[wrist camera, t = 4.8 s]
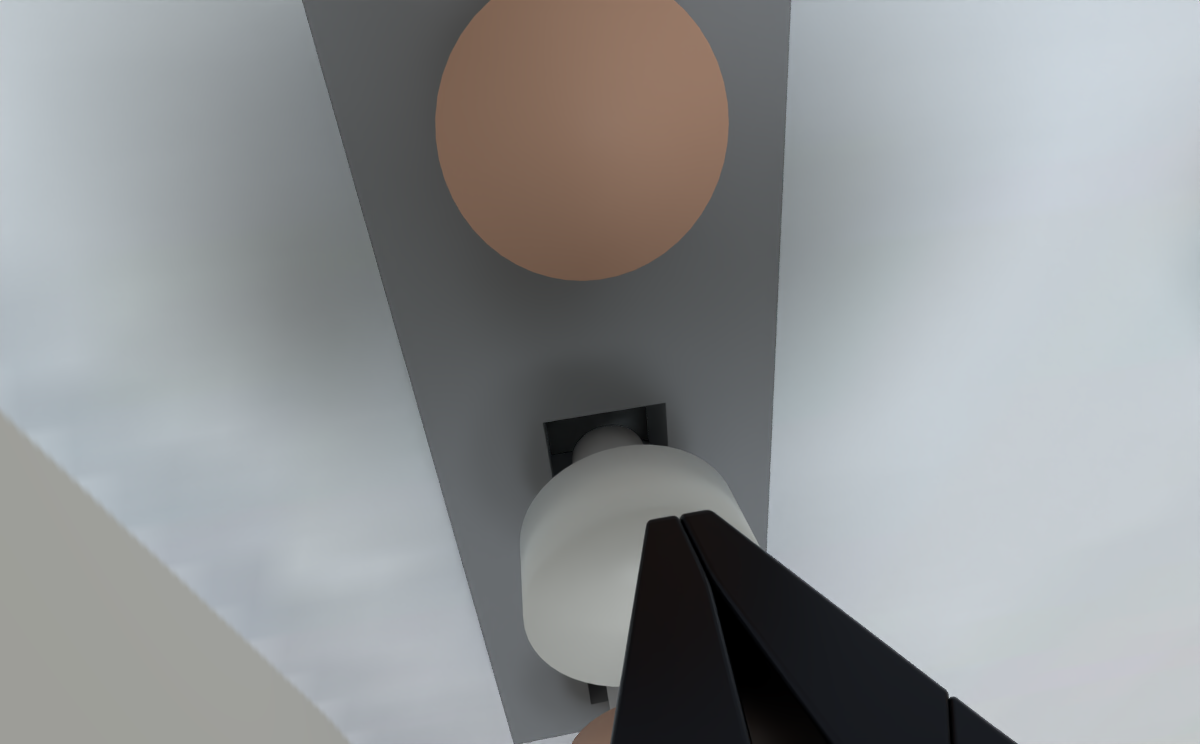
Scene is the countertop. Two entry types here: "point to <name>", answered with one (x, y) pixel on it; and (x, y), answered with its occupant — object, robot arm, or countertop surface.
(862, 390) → the countertop surface
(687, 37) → the knob
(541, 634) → the knob middle
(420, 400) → the knob strip
